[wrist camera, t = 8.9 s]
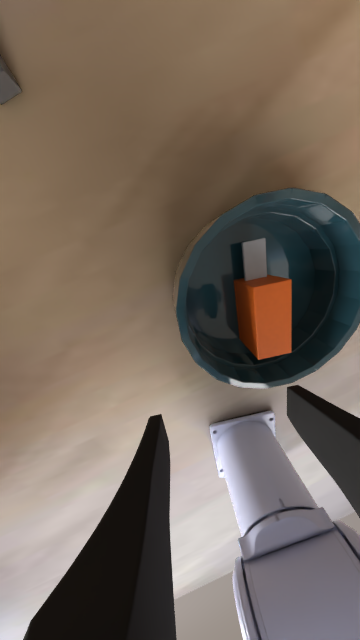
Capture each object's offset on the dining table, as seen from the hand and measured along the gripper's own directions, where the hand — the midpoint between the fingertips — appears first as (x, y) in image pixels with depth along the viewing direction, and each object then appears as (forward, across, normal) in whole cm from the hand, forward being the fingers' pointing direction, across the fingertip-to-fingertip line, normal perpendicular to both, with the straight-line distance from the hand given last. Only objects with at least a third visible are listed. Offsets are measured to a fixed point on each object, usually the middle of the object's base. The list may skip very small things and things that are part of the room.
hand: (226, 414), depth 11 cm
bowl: (+9, -6, -4) cm, 12 cm away
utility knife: (+9, -6, -4) cm, 11 cm away
